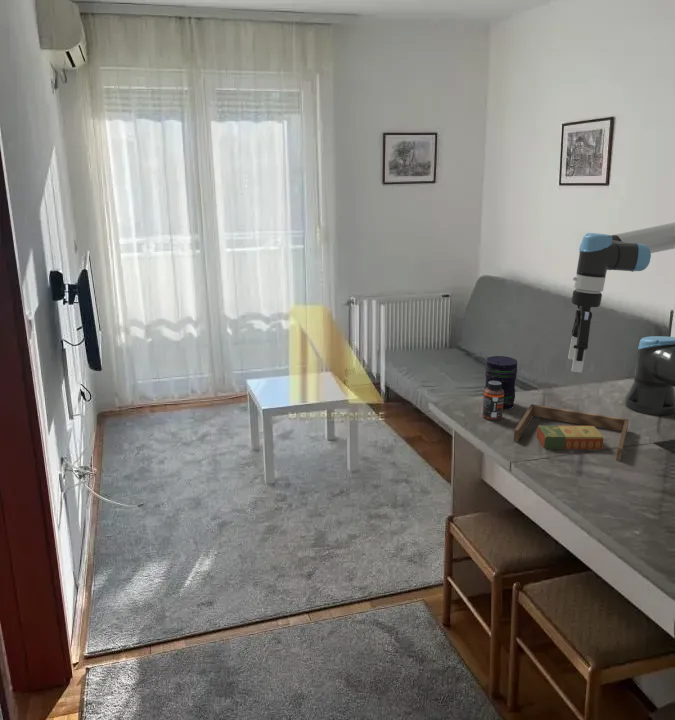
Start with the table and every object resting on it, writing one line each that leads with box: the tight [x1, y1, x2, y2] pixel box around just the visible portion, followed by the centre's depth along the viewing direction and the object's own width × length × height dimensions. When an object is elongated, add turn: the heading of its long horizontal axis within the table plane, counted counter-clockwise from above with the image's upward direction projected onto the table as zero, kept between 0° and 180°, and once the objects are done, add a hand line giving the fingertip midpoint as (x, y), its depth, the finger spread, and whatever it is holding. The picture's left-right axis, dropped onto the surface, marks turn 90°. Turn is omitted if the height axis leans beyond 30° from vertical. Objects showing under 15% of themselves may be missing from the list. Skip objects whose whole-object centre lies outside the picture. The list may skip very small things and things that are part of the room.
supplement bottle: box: [482, 381, 504, 421], centre depth 206 cm, size 6×6×11 cm
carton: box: [536, 424, 604, 450], centre depth 189 cm, size 8×16×4 cm, turn 88°
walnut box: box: [513, 403, 630, 462], centre depth 193 cm, size 28×23×4 cm
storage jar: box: [483, 355, 518, 410], centre depth 216 cm, size 10×10×15 cm
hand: (574, 365), depth 190 cm, fingers open, 13 cm apart
